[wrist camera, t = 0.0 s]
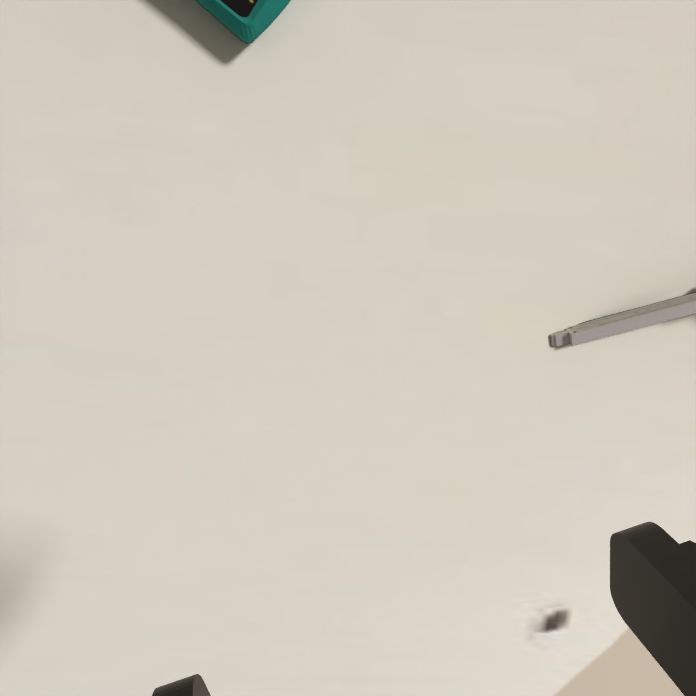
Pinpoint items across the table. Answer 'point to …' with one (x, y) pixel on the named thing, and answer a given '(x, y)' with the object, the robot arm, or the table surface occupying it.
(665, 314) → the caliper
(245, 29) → the digital multimeter
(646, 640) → the robot arm
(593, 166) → the table surface
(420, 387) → the table surface
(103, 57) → the table surface
